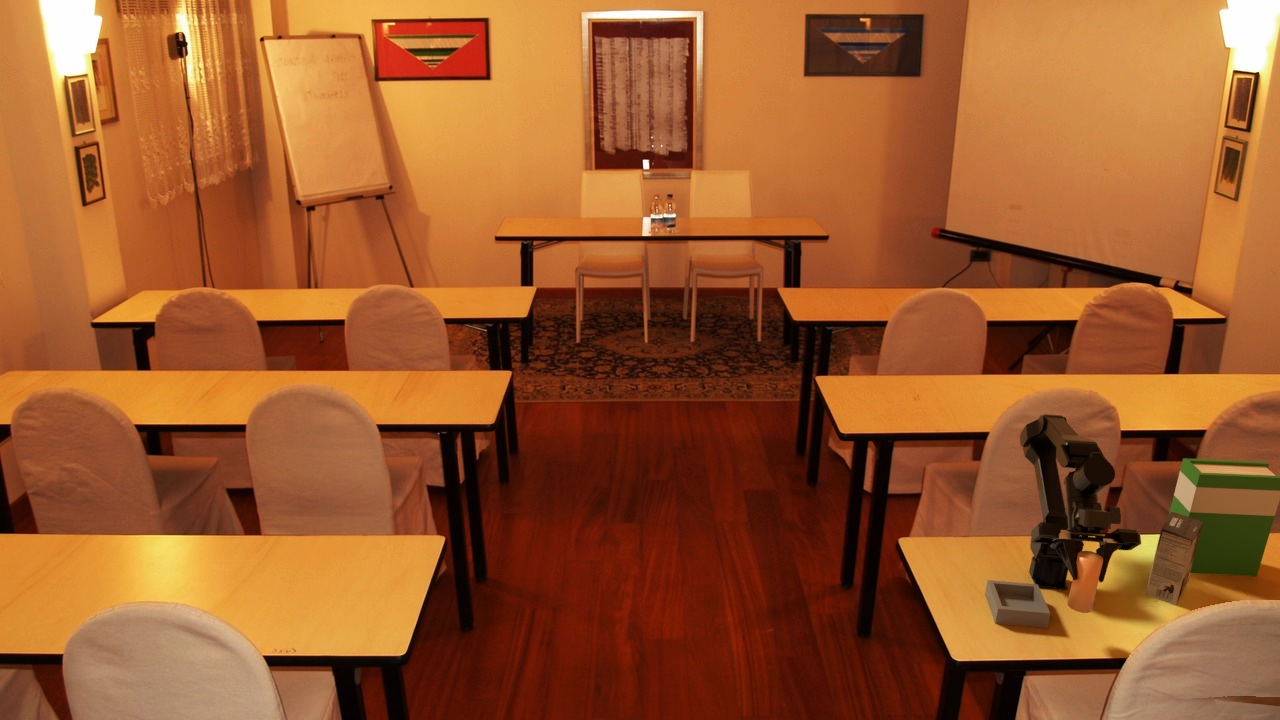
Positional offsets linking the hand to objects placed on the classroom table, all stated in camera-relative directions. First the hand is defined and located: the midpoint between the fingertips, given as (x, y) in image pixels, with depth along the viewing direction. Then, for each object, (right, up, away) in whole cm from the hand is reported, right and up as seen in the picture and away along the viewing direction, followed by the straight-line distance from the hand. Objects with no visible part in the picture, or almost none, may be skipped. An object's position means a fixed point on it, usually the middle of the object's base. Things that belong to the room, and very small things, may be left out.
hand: (1088, 580), depth 186 cm
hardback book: (+40, -4, +31) cm, 51 cm away
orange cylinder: (0, -6, +4) cm, 7 cm away
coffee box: (+26, -7, +21) cm, 34 cm away
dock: (-9, -9, +13) cm, 18 cm away
